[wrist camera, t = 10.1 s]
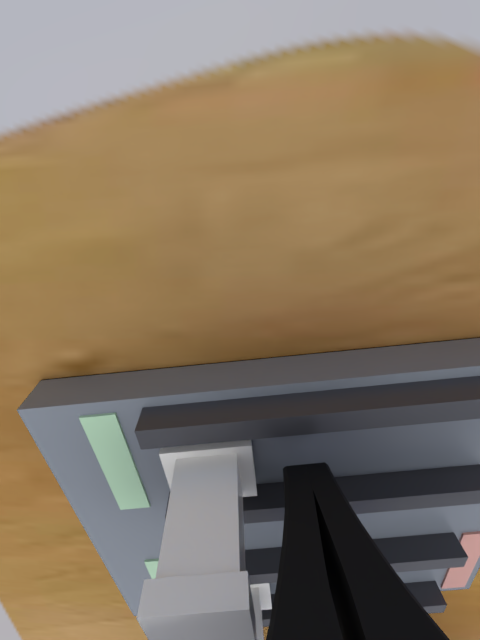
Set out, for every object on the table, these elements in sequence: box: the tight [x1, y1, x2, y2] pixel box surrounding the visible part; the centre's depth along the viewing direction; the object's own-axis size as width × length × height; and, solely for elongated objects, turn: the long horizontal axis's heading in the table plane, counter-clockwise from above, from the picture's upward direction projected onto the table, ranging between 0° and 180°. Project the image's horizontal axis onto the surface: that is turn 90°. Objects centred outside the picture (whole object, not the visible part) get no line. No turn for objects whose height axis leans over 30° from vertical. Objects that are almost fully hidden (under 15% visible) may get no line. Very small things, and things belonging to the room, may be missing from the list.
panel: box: [17, 338, 480, 627], centre depth 14 cm, size 15×18×2 cm
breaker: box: [136, 440, 257, 640], centre depth 9 cm, size 3×3×5 cm
